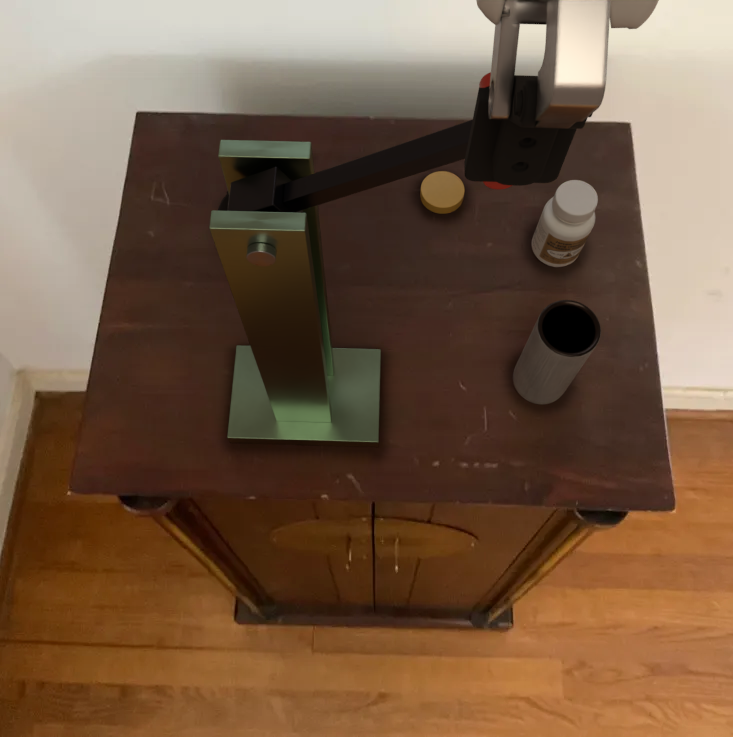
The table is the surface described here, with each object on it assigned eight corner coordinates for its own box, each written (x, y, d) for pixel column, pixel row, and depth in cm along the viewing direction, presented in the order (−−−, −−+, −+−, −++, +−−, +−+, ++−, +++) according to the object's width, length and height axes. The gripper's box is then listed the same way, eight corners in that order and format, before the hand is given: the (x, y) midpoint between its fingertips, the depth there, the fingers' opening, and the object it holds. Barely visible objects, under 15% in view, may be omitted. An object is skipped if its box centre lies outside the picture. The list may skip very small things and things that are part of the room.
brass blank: (447, 170, 72) (448, 164, 71) (471, 201, 71) (473, 194, 70) (411, 189, 71) (412, 183, 70) (436, 221, 70) (437, 214, 69)
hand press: (380, 356, 65) (391, 118, 37) (378, 447, 62) (388, 261, 34) (239, 352, 65) (145, 112, 38) (230, 443, 62) (120, 255, 35)
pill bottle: (540, 273, 68) (561, 226, 61) (523, 232, 70) (541, 181, 62) (587, 262, 68) (613, 213, 61) (569, 221, 70) (592, 169, 63)
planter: (571, 362, 65) (606, 308, 55) (560, 411, 63) (595, 364, 54) (518, 348, 65) (544, 292, 56) (506, 396, 64) (531, 347, 54)
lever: (521, 93, 33) (502, 57, 32) (527, 190, 32) (506, 158, 30) (262, 183, 40) (232, 158, 38) (254, 267, 38) (222, 245, 36)
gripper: (1071, -402, 9) (627, 274, 25) (809, -863, 16) (586, -94, 32) (463, -416, 10) (400, 267, 25) (447, -870, 16) (405, -99, 32)
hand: (503, 66), depth 29 cm, fingers open, 9 cm apart
